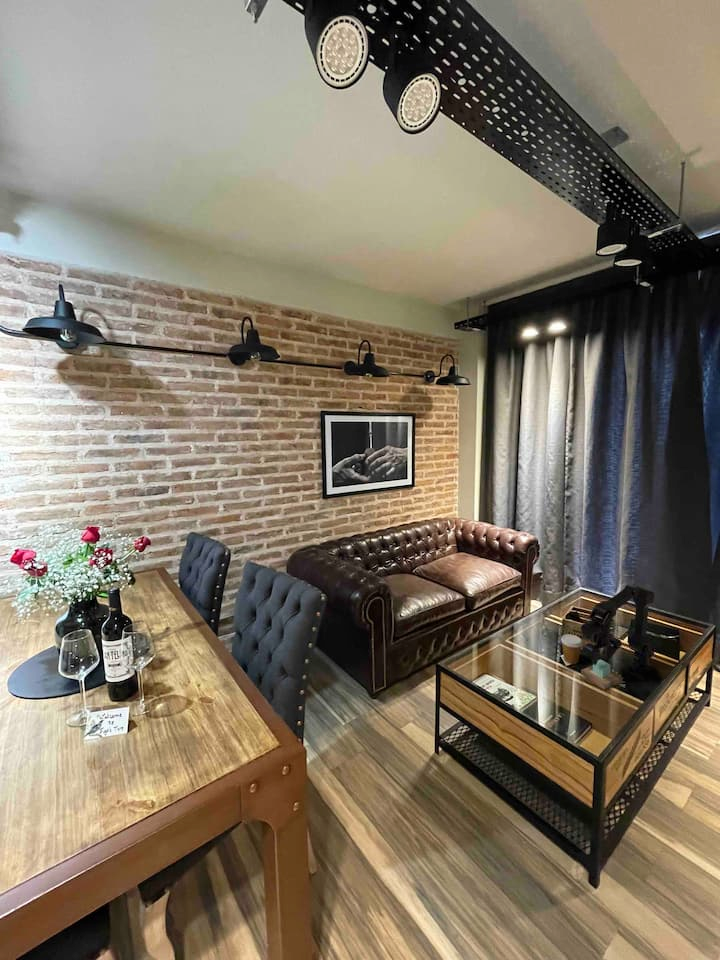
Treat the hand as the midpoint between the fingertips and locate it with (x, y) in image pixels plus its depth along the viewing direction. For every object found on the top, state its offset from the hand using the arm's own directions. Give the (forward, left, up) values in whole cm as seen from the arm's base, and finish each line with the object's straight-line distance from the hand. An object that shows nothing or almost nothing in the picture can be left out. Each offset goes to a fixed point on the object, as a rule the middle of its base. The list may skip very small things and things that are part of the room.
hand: (601, 662), depth 188 cm
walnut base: (0, 0, -8) cm, 9 cm away
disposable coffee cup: (+1, -16, -9) cm, 18 cm away
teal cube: (0, 0, -6) cm, 6 cm away
